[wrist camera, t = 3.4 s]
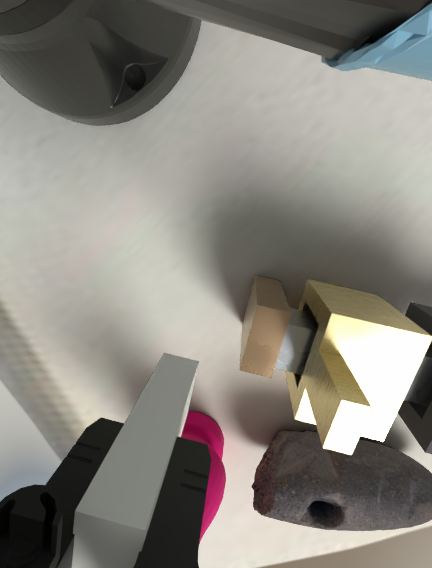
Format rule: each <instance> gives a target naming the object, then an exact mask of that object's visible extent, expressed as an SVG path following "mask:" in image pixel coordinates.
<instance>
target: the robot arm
mask: <svg viewBox="0 0 432 568" xmlns="http://www.w3.org/2000/svg"><path fill="white" fill-rule="evenodd" d="M201 20H204V21H207V22H211V23H214V24H218V25H221V26H225V27H228V28H232V29H235V30H239V31H242V32H245V33H249V34H252V35H256V36H259V37H263V38H266V39H270V40H273V41H277V42H280V43H283V44H286V45H289V46H293V47H296V48H299V49H302V50H305V51H308V52H311V53H315V54H318V55H321V56H322V62H323V63H325V64H326V65H328V66H330V67H332V68H336V69H339V70H341V71H350V70H356V69H360V68H365V67H367V68H372V69H377V70H382V71H387V72H391V73H396V74H401V75H406V76H411V77H416V78H421V79H426V80H430V81H432V0H0V75H1V76H2V77H3V78H4V79H5V80H6V81H7V82H8V83H9V84H10V85H11V86H12V87H13V88H14V89H15V90H16V91H18V92H19V93H20V94H22V95H23V96H24V97H26V98H27V99H28V100H30V101H31V102H33V103H35V104H36V105H38V106H40V107H42V108H44V109H46V110H48V111H50V112H52V113H55V114H57V115H59V116H62V117H64V118H66V119H69V120H72V121H74V122H78V123H82V124H88V125H113V124H118V123H122V122H126V121H129V120H131V119H134V118H136V117H138V116H140V115H142V114H144V113H145V112H147V111H149V110H150V109H151V108H153V107H154V106H155V105H157V104H158V103H159V102H160V101H161V100H162V99H163V98H164V97H165V96H166V95H167V94H168V93H169V92H170V91H171V90H172V88H173V87H174V86H175V84H176V83H177V82H178V80H179V79H180V77H181V76H182V74H183V72H184V70H185V68H186V67H187V65H188V62H189V60H190V58H191V56H192V53H193V51H194V48H195V45H196V42H197V38H198V34H199V30H200V25H201ZM198 363H199V361H195V360H191V359H187V358H183V357H179V356H174V355H170V354H166V353H164V354H163V356H162V358H161V359H160V361H159V363H158V365H157V366H156V368H155V370H154V372H153V374H152V375H151V377H150V379H149V381H148V382H147V384H146V386H145V388H144V390H143V391H142V393H141V395H140V397H139V398H138V400H137V402H136V404H135V405H134V407H133V409H132V411H131V413H130V414H129V416H128V418H127V420H126V421H125V423H120V422H116V421H112V420H108V419H105V418H100V419H98V420H97V421H96V422H94V423H93V424H91V425H90V426H88V427H87V428H86V429H85V431H84V432H83V434H82V435H81V436H80V438H79V439H78V440H77V442H76V444H75V445H74V446H73V447H72V449H71V450H70V452H69V453H68V455H67V457H65V459H64V460H63V461H62V463H61V464H60V466H59V467H58V468H57V470H56V471H55V473H54V474H53V475H52V477H51V478H50V479H49V481H48V482H47V484H46V485H32V486H28V487H24V488H20V489H19V490H17V491H15V492H13V493H11V494H10V495H8V496H6V497H5V498H4V499H3V500H2V501H1V502H0V568H199V566H198V547H199V541H200V534H201V527H202V520H203V514H204V507H205V500H206V492H207V487H208V480H209V473H210V466H211V460H212V459H211V456H210V452H209V449H208V445H207V444H205V443H201V442H197V441H193V440H189V439H186V438H182V437H181V435H182V431H183V428H184V424H185V421H186V418H187V414H188V409H189V405H190V400H191V396H192V391H193V386H194V382H195V377H196V373H197V368H198Z"/></svg>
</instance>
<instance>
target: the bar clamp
mask: <svg viewBox="0 0 432 568" xmlns="http://www.w3.org/2000/svg"><path fill="white" fill-rule="evenodd" d="M318 327H319V324H318V322H317V320H316V318H315V316H314V315H313V313H310V312H306V311H302V310H298V309H293V308H289V305H288V302H287V300H286V297H285V294H284V291H283V288H282V286H281V283H280V280H275V279H271V278H267V277H262V276H258V275H255V277H254V281H253V285H252V289H251V293H250V297H249V300H248V304H247V308H246V312H245V316H244V320H243V324H242V338H241V354H240V370H241V371H245V372H249V373H253V374H257V375H261V376H265V377H269V378H271V377H272V374H273V371H274V368H275V369H279V370H283V371H287V372H292V373H296V374H300V375H302V374H303V371H304V368H305V365H306V362H307V359H308V356H309V353H310V350H311V347H312V345H313V342H314V339H315V336H316V333H317V330H318ZM403 400H406V401H410V402H414V403H418V404H422V405H426V406H429V405H430V403H431V401H432V341H431V343H430V345H429V347H428V349H427V351H426V353H425V355H424V357H423V359H422V362H421V364H420V366H419V368H418V370H417V372H416V374H415V376H414V378H413V381H412V383H411V385H410V387H409V389H408V391H407V393H406V395H405V397H404V399H403Z"/></svg>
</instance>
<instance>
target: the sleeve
mask: <svg viewBox="0 0 432 568" xmlns="http://www.w3.org/2000/svg"><path fill="white" fill-rule="evenodd" d="M298 310H302V311H306V312H310V313H313V315H314V316H315V318H316V320H317V322H318V324H319V327H318V330H317V333H316V336H315V339H314V342H313V345H312V347H311V350H310V353H309V356H308V359H307V362H306V365H305V368H304V371H303V374H302V375H300V374H296V373H292V372H287V371H285V374H286V379H287V384H288V389H289V394H290V399H291V404H292V409H293V414H294V419H295V420H299V421H303V422H307V423H311V424H315V425H316V426H317V430H318V433H319V437H320V440H321V443H322V447H323V448H326V449H330V450H334V451H338V452H342V453H345V454H349V455H352V453H353V451H354V449H355V446H356V444H357V442H358V440H359V437H360V436H362V437H366V438H370V439H374V440H378V441H382V442H384V440H385V437H386V435H387V433H388V431H389V429H390V427H391V425H392V423H393V421H394V418H395V416H396V414H397V412H398V410H399V408H400V406H401V404H402V402H403V399H404V397H405V395H406V393H407V391H408V389H409V387H410V385H411V383H412V381H413V378H414V376H415V374H416V372H417V370H418V368H419V366H420V364H421V362H422V359H423V357H424V355H425V353H426V351H427V349H428V347H429V345H430V343H431V340H432V336H431V335H430V334H429V333H427V332H426V331H425V330H423V329H422V328H421V327H419V326H418V325H417V324H415V323H414V322H413V321H411V320H410V319H409V318H407V317H406V316H405V315H404V314H402V313H401V312H400V311H398V310H397V309H396V308H394V307H393V306H392V305H390V304H389V303H388V302H386V301H385V300H384V299H382V298H381V297H380V296H378V295H375V294H371V293H367V292H362V291H358V290H354V289H349V288H345V287H340V286H336V285H332V284H327V283H323V282H319V281H314V280H310V279H307V282H306V285H305V288H304V292H303V295H302V298H301V301H300V304H299V308H298Z"/></svg>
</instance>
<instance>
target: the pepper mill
mask: <svg viewBox="0 0 432 568" xmlns="http://www.w3.org/2000/svg"><path fill="white" fill-rule="evenodd" d="M181 437H182V438H186V439H189V440H193V441H197V442H201V443H205V444H207V445H208V449H209V452H210V456H211V459H212V460H211V466H210V473H209V480H208V487H207V492H206V500H205V507H204V514H203V520H202V527H201V534H200V541H201V539H202V537H203V535H204V533H205V531H206V530H207V528H208V527H209V525H210V524H211V522H212V520H213V519H214V517H215V515H216V513H217V511H218V509H219V506H220V504H221V501H222V499H223V494H224V488H225V482H226V474H225V469H224V465H223V462H222V461H221V460H222V455H223V446H224V437H223V434H222V431H221V429H220V427H219V426H218V425H217V423H216V422H215V421H214V420H212V419H211V418H210V417H208V416H206V415H204V414H202V413H199V412H194V411H188V414H187V418H186V421H185V424H184V428H183V431H182V435H181ZM200 541H199V544H200Z"/></svg>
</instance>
